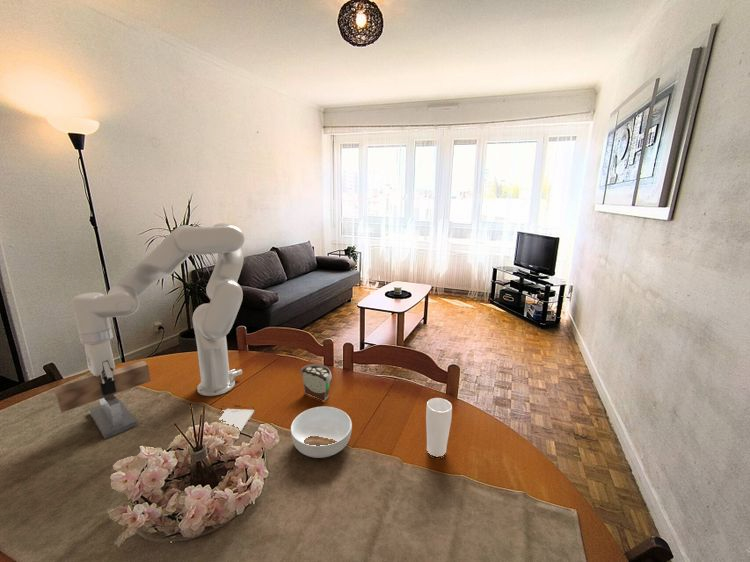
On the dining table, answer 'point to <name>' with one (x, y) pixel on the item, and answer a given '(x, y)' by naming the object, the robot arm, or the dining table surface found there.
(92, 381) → the walnut bar
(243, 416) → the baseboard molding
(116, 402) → the balance stand
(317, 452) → the cereal bowl
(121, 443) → the dining table surface
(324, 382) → the food container
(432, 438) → the drinking glass
